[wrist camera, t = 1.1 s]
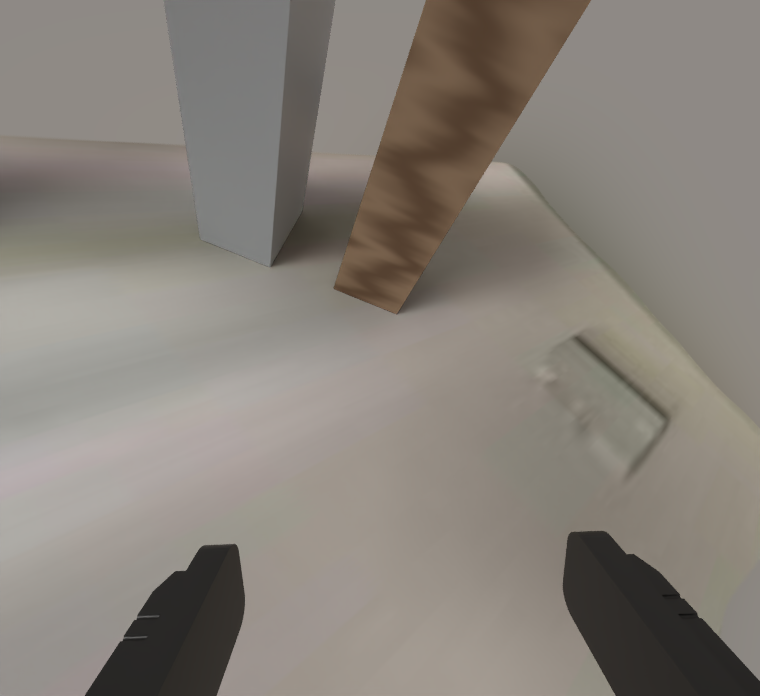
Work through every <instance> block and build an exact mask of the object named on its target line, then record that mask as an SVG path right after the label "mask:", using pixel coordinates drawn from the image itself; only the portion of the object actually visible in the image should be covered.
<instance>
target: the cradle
mask: <svg viewBox="0 0 760 696" xmlns="http://www.w3.org/2000/svg"><path fill="white" fill-rule="evenodd" d="M164 6H165V13H166V19H167V25H168V31H169V39H170V45H171V51H172V58H173V65H174V72H175V78H176V85H177V91H178V97H179V104H180V111H181V117H182V124H183V130H184V137H185V143H186V150H187V157H188V163H189V170H190V176H191V183H192V189H193V196H194V202H195V209H196V215H197V222H198V229H199V235H200V239H201V240H203V241H206V242H208V243H211V244H213V245H216V246H218V247H221V248H223V249H226V250H228V251H231V252H233V253H236V254H238V255H241V256H243V257H245V258H248V259H250V260H253V261H255V262H258V263H260V264H263V265H265V266H268V267H271V265H272V263H273V261H274V260H275V258H276V256H277V254H278V253H279V251H280V249H281V247H282V246H283V244H284V242H285V240H286V239H287V237H288V235H289V233H290V232H291V230H292V228H293V227H294V225H295V223H296V221H297V220H298V218H299V216H300V214H301V213H302V209H303V203H304V197H305V190H306V184H307V178H308V171H309V165H310V159H311V152H312V145H313V139H314V133H315V127H316V120H317V114H318V108H319V101H320V95H321V89H322V82H323V76H324V69H325V63H326V57H327V50H328V43H329V38H330V31H331V25H332V18H333V12H334V6H335V0H164Z"/></svg>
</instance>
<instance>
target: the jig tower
mask: <svg viewBox="0 0 760 696" xmlns="http://www.w3.org/2000/svg"><path fill="white" fill-rule="evenodd" d="M590 1H591V0H426V2H425V5H424V8H423V12H422V15H421V18H420V21H419V24H418V27H417V30H416V33H415V36H414V39H413V43H412V46H411V49H410V52H409V55H408V58H407V61H406V64H405V68H404V71H403V74H402V77H401V80H400V83H399V86H398V89H397V92H396V96H395V99H394V102H393V105H392V108H391V111H390V114H389V117H388V121H387V124H386V127H385V130H384V133H383V136H382V139H381V142H380V146H379V149H378V152H377V155H376V158H375V161H374V164H373V167H372V170H371V173H370V177H369V180H368V183H367V186H366V189H365V192H364V195H363V198H362V201H361V205H360V208H359V211H358V214H357V217H356V220H355V223H354V226H353V229H352V233H351V236H350V239H349V242H348V245H347V248H346V251H345V254H344V258H343V261H342V264H341V267H340V270H339V273H338V276H337V279H336V282H335V286H334V289H335V290H338V291H340V292H343V293H345V294H348V295H350V296H353V297H355V298H358V299H360V300H363V301H365V302H368V303H370V304H373V305H375V306H377V307H380V308H382V309H385V310H387V311H390V312H392V313H395V314H397V313H398V311H399V310H400V308H401V307H402V305H403V303H404V302H405V300H406V298H407V297H408V295H409V294H410V292H411V290H412V289H413V287H414V286H415V284H416V282H417V281H418V279H419V277H420V276H421V274H422V273H423V271H424V269H425V268H426V266H427V265H428V263H429V261H430V260H431V258H432V256H433V255H434V253H435V252H436V250H437V248H438V247H439V245H440V244H441V242H442V240H443V239H444V237H445V235H446V234H447V232H448V231H449V229H450V227H451V226H452V224H453V223H454V221H455V219H456V218H457V216H458V214H459V213H460V211H461V210H462V208H463V206H464V205H465V203H466V201H467V200H468V198H469V197H470V195H471V193H472V192H473V190H474V189H475V187H476V185H477V184H478V182H479V180H480V179H481V177H482V176H483V174H484V172H485V171H486V169H487V168H488V166H489V164H490V163H491V161H492V159H493V158H494V156H495V155H496V153H497V151H498V150H499V148H500V147H501V145H502V143H503V142H504V140H505V138H506V137H507V135H508V134H509V132H510V130H511V129H512V127H513V125H514V124H515V122H516V121H517V119H518V117H519V116H520V114H521V113H522V111H523V109H524V107H525V106H526V104H527V103H528V101H529V100H530V98H531V96H532V95H533V93H534V92H535V90H536V88H537V87H538V85H539V83H540V82H541V80H542V79H543V77H544V75H545V74H546V72H547V71H548V69H549V67H550V66H551V64H552V62H553V61H554V59H555V58H556V56H557V54H558V53H559V51H560V49H561V48H562V46H563V44H564V43H565V41H566V40H567V38H568V37H569V35H570V33H571V32H572V30H573V28H574V27H575V25H576V24H577V22H578V20H579V19H580V17H581V16H582V14H583V12H584V11H585V9H586V7H587V6H588V4H589V3H590Z"/></svg>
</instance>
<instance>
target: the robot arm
mask: <svg viewBox="0 0 760 696" xmlns="http://www.w3.org/2000/svg"><path fill="white" fill-rule="evenodd" d="M563 592H564V597H565V601H566V605H567V607H568V610H569V612H570V614H571V616H572V618H573V620H574V622H575V624H576V625H577V627H578V629H579V631H580V633H581V634H582V636H583V638H584V640H585V641H586V643H587V645H588V647H589V649H590V650H591V652H592V654H593V656H594V658H595V659H596V661H597V663H598V665H599V667H600V668H601V670H602V672H603V674H604V675H605V677H606V679H607V681H608V683H609V684H610V686H611V688H612V690H613V692H614V693H615V695H616V696H760V681H759V680H758V679H757V678H756V677H755V676H754V675H753V674H752V672H751V671H750V670H749V669H748V668H747V667H746V666H745V665H744V664H743V663H742V661H741V660H740V659H739V658H738V657H737V656H736V655H735V654H734V653H733V652H732V651H731V649H730V648H729V647H728V646H727V645H726V644H725V643H724V642H723V641H722V640H721V639H720V638H719V636H718V635H717V634H716V633H715V632H714V631H713V630H712V629H711V628H710V627H709V626H708V624H707V623H706V622H705V621H704V620H703V619H702V618H699V617H698V615H697V612H696V611H695V610H694V609H693V608H692V607H691V606H690V605H689V604H688V603H687V602H686V601H685V599H681V597H680V594H679V593H678V592H677V591H676V590H675V589H674V587H673V586H672V585H671V584H670V583H669V582H668V581H667V580H666V579H665V578H664V577H663V575H662V574H661V573H660V572H659V571H657V570H656V569H654V568H653V567H651V566H650V565H649V564H647V563H646V562H644V561H643V560H641V559H640V558H638V557H637V556H636V555H634V554H627V555H626V553H625V552H624V551H623V550H622V549H621V548H620V546H619V545H618V544H617V543H616V542H615V541H614V539H613V538H612V537H611V536H610V535H609V534H608V533H606V532H604V531H586V532H571V533H570V534H569V536H568V540H567V549H566V559H565V568H564V577H563ZM244 607H245V593H244V586H243V579H242V571H241V564H240V557H239V550H238V547H237V545H236V544H226V545H204V546H202V547H201V548H200V549H199V550H198V552H197V553H196V555H195V557H194V558H193V560H192V562H191V564H190V565H189V567H188V569H187V570H186V571H175V572H174V573H173V574H172V575H171V576H170V577H168V578H167V579H166V580H165V581H164V582H163V583H162V584H161V585H160V586H159V587H157V588H156V589H155V590H154V591H153V592H152V594H151V595H150V597H149V599H148V600H147V602H146V603H145V605H144V606H143V608H142V609H141V611H140V612H139V614H138V617H137V620H134V621H133V623H132V624H131V626H130V627H129V629H128V631H127V632H126V634H125V635H124V639H123V641H120V643H119V644H118V646H117V647H116V649H115V650H114V652H113V653H112V655H111V656H110V658H109V660H108V661H107V663H106V664H105V666H104V667H103V669H102V670H101V672H100V673H99V675H98V676H97V678H96V679H95V681H94V682H93V684H92V685H91V687H90V688H89V690H88V692H87V693H86V695H85V696H216V695H217V693H218V690H219V687H220V684H221V681H222V679H223V676H224V673H225V670H226V667H227V664H228V662H229V659H230V656H231V653H232V650H233V648H234V645H235V642H236V639H237V636H238V633H239V631H240V628H241V624H242V620H243V615H244Z"/></svg>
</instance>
